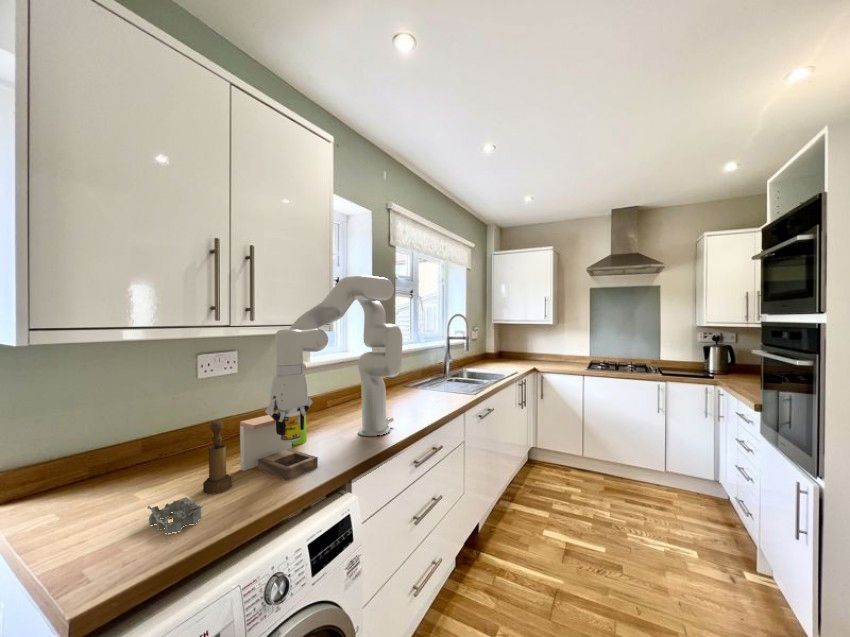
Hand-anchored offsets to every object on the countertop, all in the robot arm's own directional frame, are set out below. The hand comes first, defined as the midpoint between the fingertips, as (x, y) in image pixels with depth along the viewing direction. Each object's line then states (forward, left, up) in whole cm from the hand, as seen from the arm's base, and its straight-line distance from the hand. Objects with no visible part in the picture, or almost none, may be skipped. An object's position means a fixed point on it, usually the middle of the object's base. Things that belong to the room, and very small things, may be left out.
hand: (290, 431), depth 105 cm
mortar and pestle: (+18, -6, -12) cm, 22 cm away
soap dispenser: (-16, -20, -12) cm, 28 cm away
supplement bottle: (0, 0, -3) cm, 3 cm away
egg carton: (+31, +3, -12) cm, 33 cm away
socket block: (0, -2, -11) cm, 12 cm away
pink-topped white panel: (0, -10, -11) cm, 15 cm away
